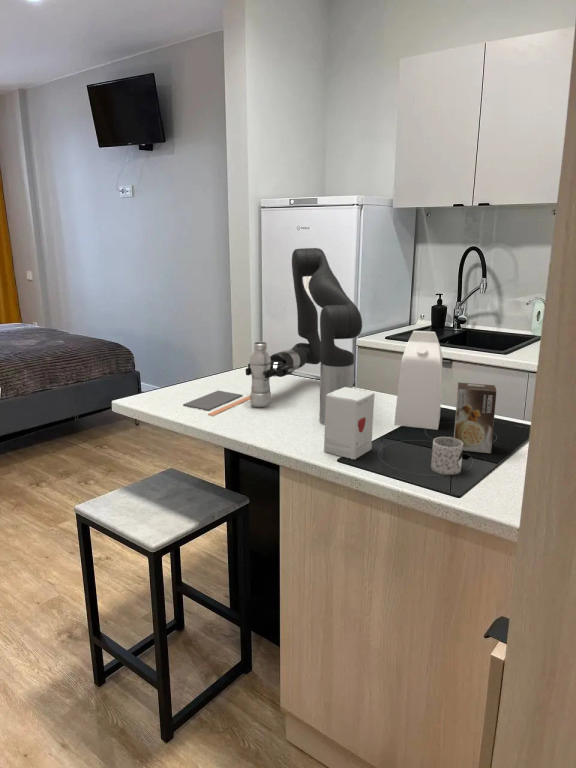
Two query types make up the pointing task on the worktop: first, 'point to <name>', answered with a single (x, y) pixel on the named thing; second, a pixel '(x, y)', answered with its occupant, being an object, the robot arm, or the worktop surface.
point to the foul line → (229, 406)
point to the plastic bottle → (260, 376)
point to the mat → (213, 400)
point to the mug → (447, 455)
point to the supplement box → (348, 422)
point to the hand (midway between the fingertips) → (256, 373)
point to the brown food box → (475, 416)
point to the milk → (420, 382)
